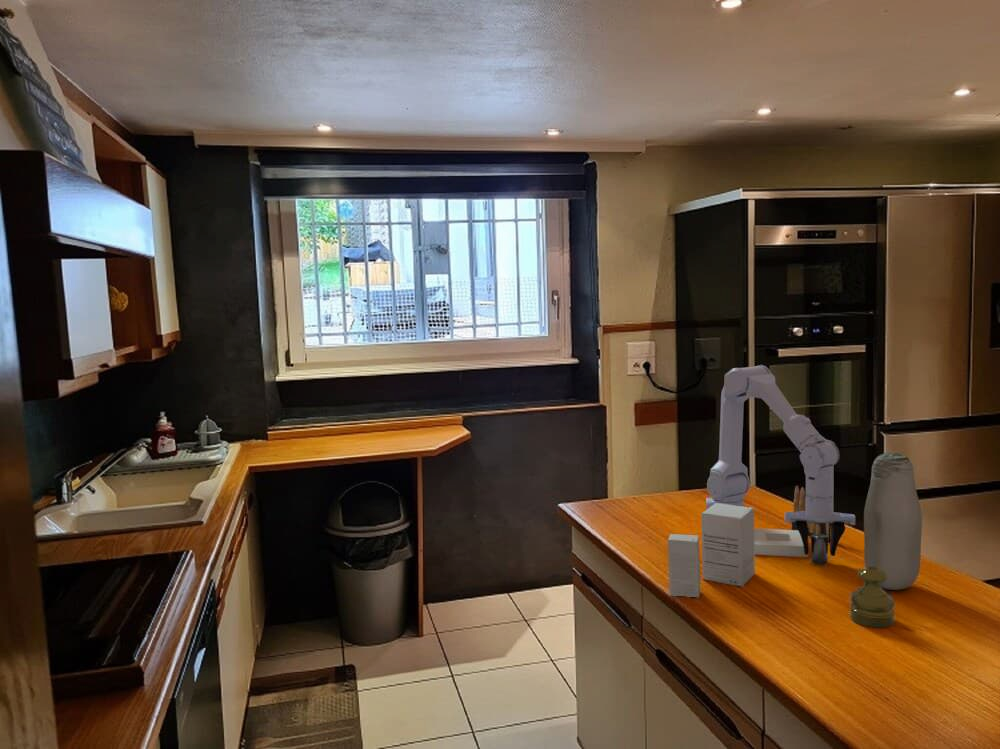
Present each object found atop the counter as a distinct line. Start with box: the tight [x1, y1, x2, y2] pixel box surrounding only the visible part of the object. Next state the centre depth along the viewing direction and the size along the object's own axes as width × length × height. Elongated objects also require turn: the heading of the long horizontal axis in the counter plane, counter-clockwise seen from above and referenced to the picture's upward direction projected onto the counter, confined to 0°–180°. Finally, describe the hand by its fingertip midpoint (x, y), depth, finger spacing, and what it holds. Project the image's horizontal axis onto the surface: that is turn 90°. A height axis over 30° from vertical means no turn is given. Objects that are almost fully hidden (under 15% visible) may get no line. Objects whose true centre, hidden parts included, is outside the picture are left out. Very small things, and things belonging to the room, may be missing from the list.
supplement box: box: [700, 503, 756, 587], centre depth 163 cm, size 9×9×15 cm
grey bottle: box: [863, 452, 923, 591], centre depth 153 cm, size 10×10×28 cm
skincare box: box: [667, 533, 701, 599], centre depth 155 cm, size 6×4×12 cm
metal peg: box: [810, 534, 829, 566], centre depth 170 cm, size 4×4×6 cm
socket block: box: [754, 528, 809, 558], centre depth 181 cm, size 12×12×2 cm
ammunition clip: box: [791, 485, 831, 542], centre depth 187 cm, size 11×2×12 cm, turn 25°
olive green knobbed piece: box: [849, 567, 895, 629], centre depth 139 cm, size 7×7×10 cm
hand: (819, 553), depth 170 cm, fingers open, 5 cm apart
